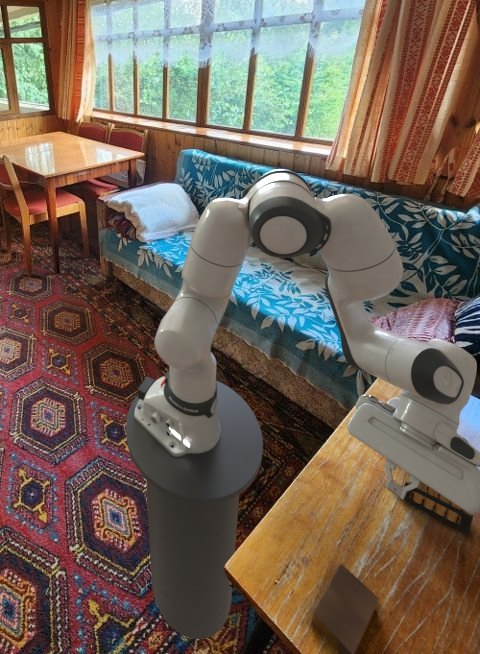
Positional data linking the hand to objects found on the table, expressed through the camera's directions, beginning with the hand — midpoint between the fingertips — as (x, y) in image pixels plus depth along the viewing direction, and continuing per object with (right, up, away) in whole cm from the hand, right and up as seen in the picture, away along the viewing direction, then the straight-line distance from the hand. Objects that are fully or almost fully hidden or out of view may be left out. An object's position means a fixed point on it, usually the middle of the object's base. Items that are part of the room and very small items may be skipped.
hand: (393, 493), depth 68 cm
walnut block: (-9, -13, -4) cm, 16 cm away
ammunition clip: (+13, -9, +7) cm, 17 cm away
